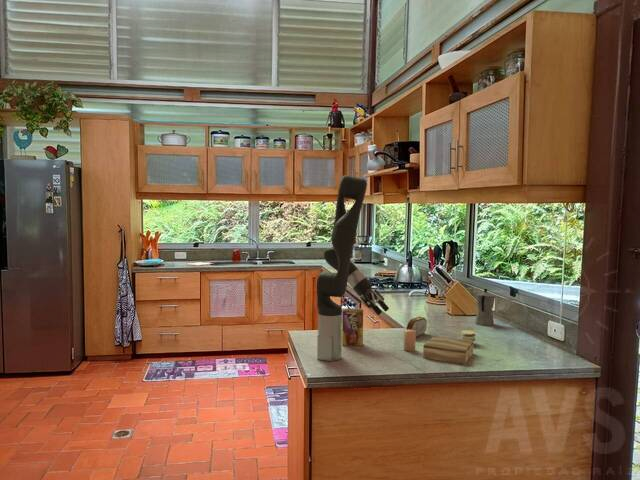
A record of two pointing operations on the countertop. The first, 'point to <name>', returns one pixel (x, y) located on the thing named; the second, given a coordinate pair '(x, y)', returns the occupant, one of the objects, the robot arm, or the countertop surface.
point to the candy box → (352, 326)
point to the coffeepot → (485, 308)
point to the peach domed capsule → (409, 340)
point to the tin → (417, 325)
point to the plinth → (448, 349)
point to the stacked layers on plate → (468, 335)
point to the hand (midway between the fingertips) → (383, 311)
